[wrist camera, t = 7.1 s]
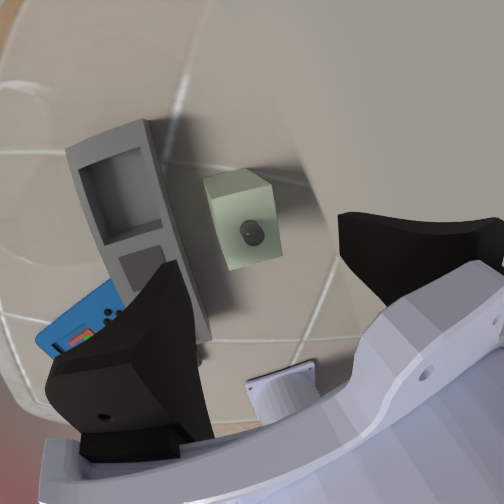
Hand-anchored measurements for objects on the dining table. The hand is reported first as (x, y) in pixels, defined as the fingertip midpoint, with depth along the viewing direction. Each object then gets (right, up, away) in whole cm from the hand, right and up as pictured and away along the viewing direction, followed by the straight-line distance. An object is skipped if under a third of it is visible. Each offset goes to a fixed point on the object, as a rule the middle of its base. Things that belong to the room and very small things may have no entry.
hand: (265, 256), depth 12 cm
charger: (-2, +4, +8) cm, 9 cm away
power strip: (-8, -1, +8) cm, 11 cm away
